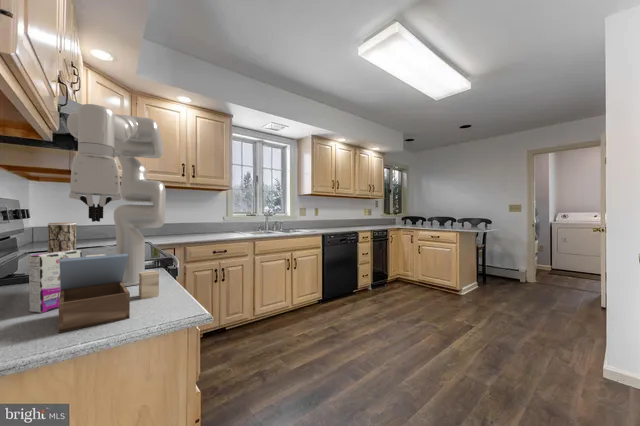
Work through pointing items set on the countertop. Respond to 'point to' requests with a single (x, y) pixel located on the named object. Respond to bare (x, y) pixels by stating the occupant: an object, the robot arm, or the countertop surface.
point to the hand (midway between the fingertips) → (95, 221)
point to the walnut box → (93, 306)
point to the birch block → (148, 284)
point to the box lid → (92, 270)
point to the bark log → (61, 237)
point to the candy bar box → (46, 279)
